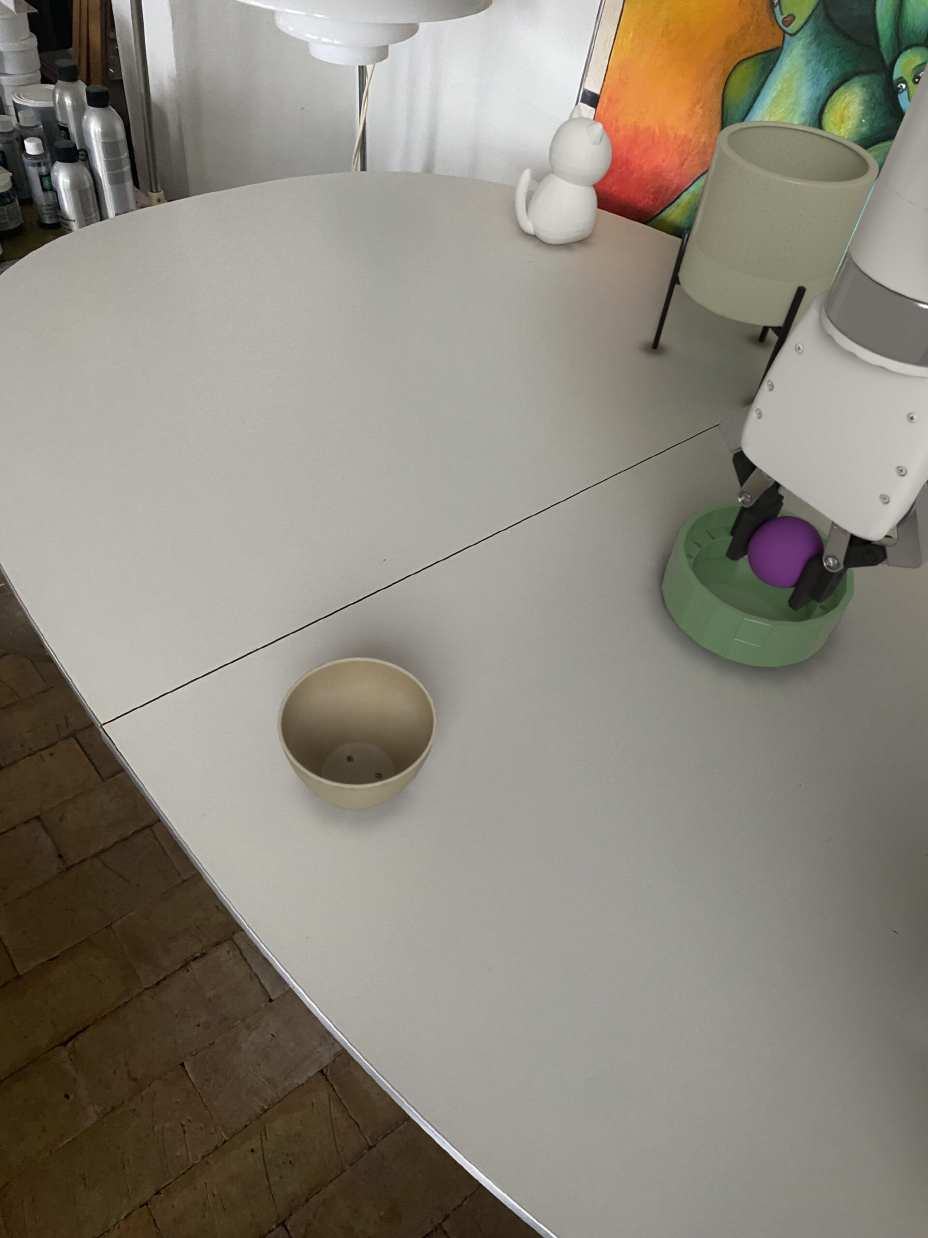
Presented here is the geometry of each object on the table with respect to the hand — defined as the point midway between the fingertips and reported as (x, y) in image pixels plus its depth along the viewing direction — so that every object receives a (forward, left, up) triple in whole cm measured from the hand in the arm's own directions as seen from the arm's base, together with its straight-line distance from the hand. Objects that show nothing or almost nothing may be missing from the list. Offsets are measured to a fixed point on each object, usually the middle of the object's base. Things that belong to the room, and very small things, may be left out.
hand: (774, 572), depth 54 cm
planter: (+33, -39, -16) cm, 53 cm away
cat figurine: (+66, -42, -16) cm, 80 cm away
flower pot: (+10, +24, -16) cm, 31 cm away
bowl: (+6, -12, -16) cm, 21 cm away
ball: (0, 0, 0) cm, 0 cm away
